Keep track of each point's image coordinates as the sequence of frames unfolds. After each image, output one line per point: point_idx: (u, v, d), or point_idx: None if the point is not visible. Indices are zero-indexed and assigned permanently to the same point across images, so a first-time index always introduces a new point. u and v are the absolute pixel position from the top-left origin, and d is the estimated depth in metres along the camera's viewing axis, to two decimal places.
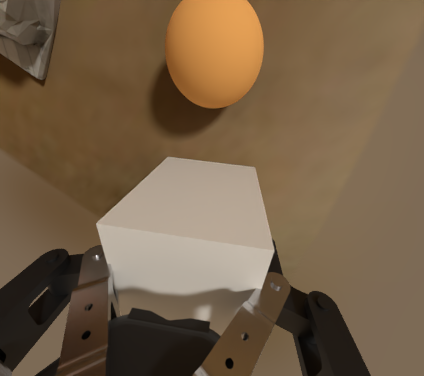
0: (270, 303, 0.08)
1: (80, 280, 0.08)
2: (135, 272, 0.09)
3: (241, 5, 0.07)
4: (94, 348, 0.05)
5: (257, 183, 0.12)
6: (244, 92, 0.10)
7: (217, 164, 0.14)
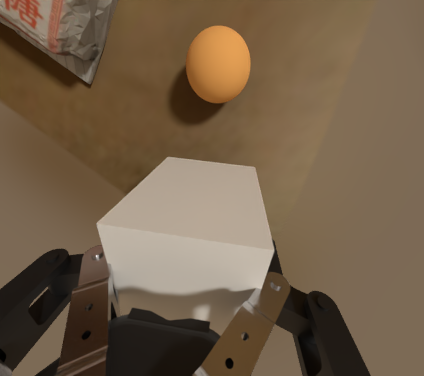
0: (270, 303, 0.08)
1: (80, 280, 0.08)
2: (136, 272, 0.09)
3: (235, 39, 0.12)
4: (94, 348, 0.05)
5: (257, 183, 0.12)
6: (238, 92, 0.14)
7: (217, 164, 0.15)
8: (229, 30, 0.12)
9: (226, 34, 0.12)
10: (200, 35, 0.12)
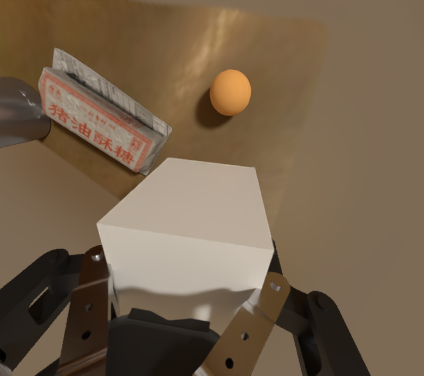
0: (270, 303, 0.08)
1: (80, 280, 0.08)
2: (136, 272, 0.09)
3: (236, 112, 0.22)
4: (94, 348, 0.05)
5: (257, 183, 0.12)
6: None
7: (217, 165, 0.15)
8: (232, 111, 0.22)
9: (230, 114, 0.22)
10: (216, 109, 0.22)
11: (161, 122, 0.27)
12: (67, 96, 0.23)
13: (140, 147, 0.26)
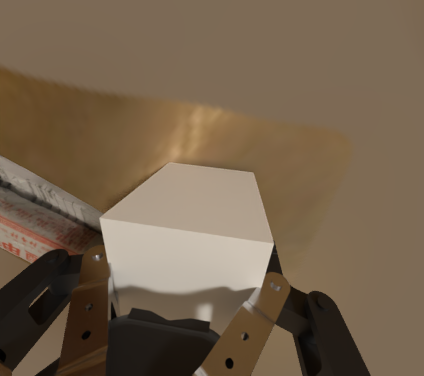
0: (270, 303, 0.08)
1: (80, 280, 0.08)
2: (136, 269, 0.09)
3: None
4: (94, 348, 0.05)
5: (256, 186, 0.12)
6: None
7: (217, 169, 0.15)
8: None
9: None
10: None
11: None
12: None
13: None
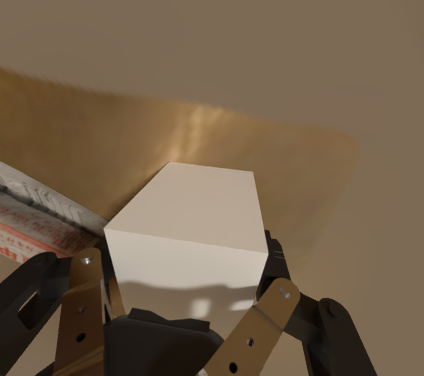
0: (278, 309, 0.07)
1: (70, 284, 0.08)
2: (139, 273, 0.09)
3: None
4: (94, 348, 0.05)
5: (254, 188, 0.13)
6: None
7: (216, 169, 0.15)
8: None
9: None
10: None
11: None
12: None
13: None
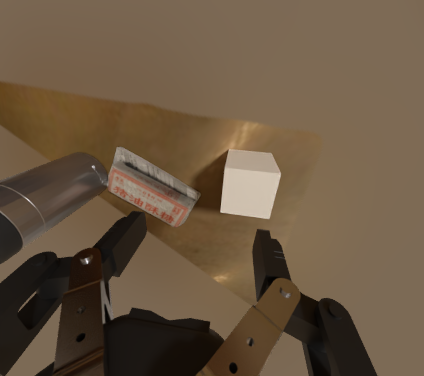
0: (278, 310, 0.07)
1: (70, 284, 0.08)
2: (232, 186, 0.25)
3: None
4: (94, 348, 0.05)
5: (273, 158, 0.28)
6: None
7: (253, 152, 0.31)
8: None
9: None
10: None
11: (193, 191, 0.36)
12: (128, 183, 0.33)
13: (179, 212, 0.35)
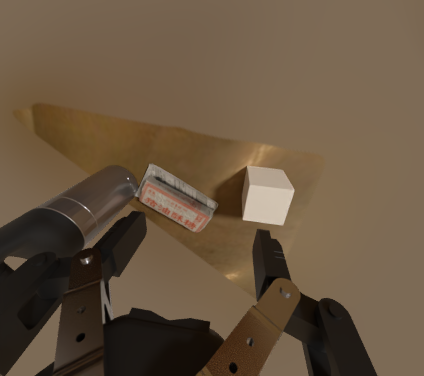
0: (278, 310, 0.07)
1: (70, 284, 0.08)
2: (255, 199, 0.31)
3: None
4: (94, 348, 0.05)
5: (285, 175, 0.34)
6: None
7: (268, 168, 0.37)
8: None
9: None
10: None
11: (212, 202, 0.42)
12: (159, 195, 0.39)
13: (201, 220, 0.41)
